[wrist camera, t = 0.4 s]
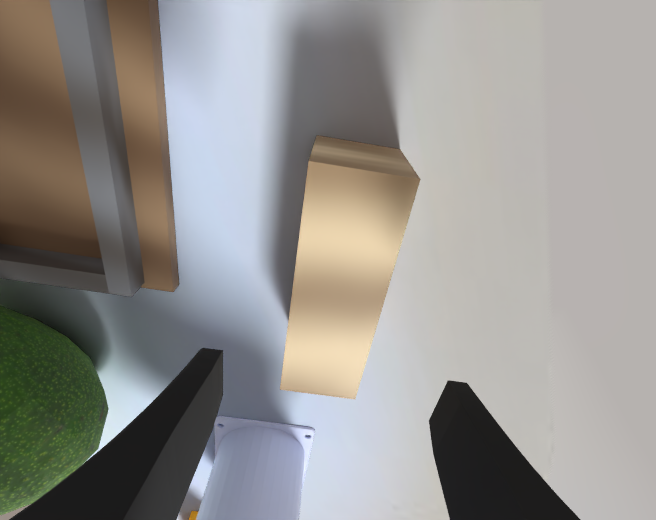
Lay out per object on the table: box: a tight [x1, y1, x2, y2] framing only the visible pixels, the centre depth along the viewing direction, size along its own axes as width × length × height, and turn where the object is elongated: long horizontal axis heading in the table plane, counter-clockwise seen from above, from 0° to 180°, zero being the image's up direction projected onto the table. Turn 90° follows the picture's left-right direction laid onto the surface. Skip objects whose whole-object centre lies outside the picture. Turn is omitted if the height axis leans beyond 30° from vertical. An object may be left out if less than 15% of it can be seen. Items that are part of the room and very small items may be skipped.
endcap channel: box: [0, 0, 179, 297], centre depth 15 cm, size 18×12×2 cm
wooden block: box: [280, 135, 420, 399], centre depth 17 cm, size 12×4×5 cm, turn 171°
